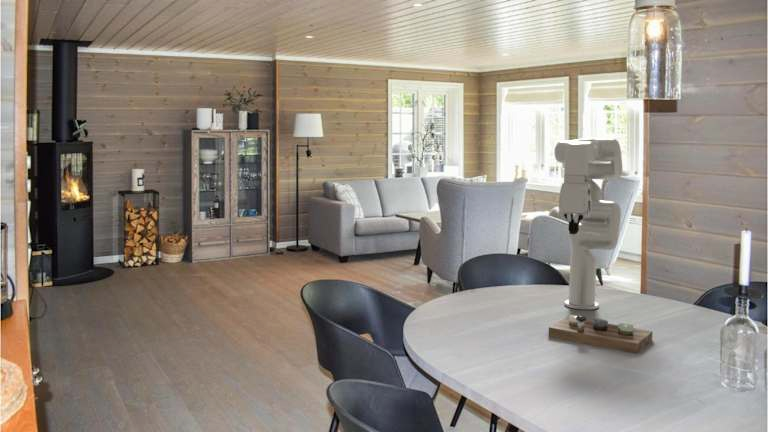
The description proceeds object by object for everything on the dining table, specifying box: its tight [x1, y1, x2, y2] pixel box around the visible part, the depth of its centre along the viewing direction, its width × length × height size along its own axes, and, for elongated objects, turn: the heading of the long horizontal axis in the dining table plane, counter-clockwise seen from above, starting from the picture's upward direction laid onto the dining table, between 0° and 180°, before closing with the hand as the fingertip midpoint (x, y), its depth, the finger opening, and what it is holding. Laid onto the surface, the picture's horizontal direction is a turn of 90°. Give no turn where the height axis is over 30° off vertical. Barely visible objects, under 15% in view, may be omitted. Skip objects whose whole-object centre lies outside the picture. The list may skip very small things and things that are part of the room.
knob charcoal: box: [592, 318, 609, 331], centre depth 223 cm, size 4×4×5 cm
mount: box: [548, 316, 654, 354], centre depth 224 cm, size 16×28×3 cm, turn 54°
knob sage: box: [618, 322, 634, 336], centre depth 219 cm, size 4×4×5 cm
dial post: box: [575, 314, 588, 333], centre depth 220 cm, size 3×3×5 cm
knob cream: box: [568, 314, 578, 327], centre depth 228 cm, size 4×4×5 cm
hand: (573, 233), depth 238 cm, fingers closed
